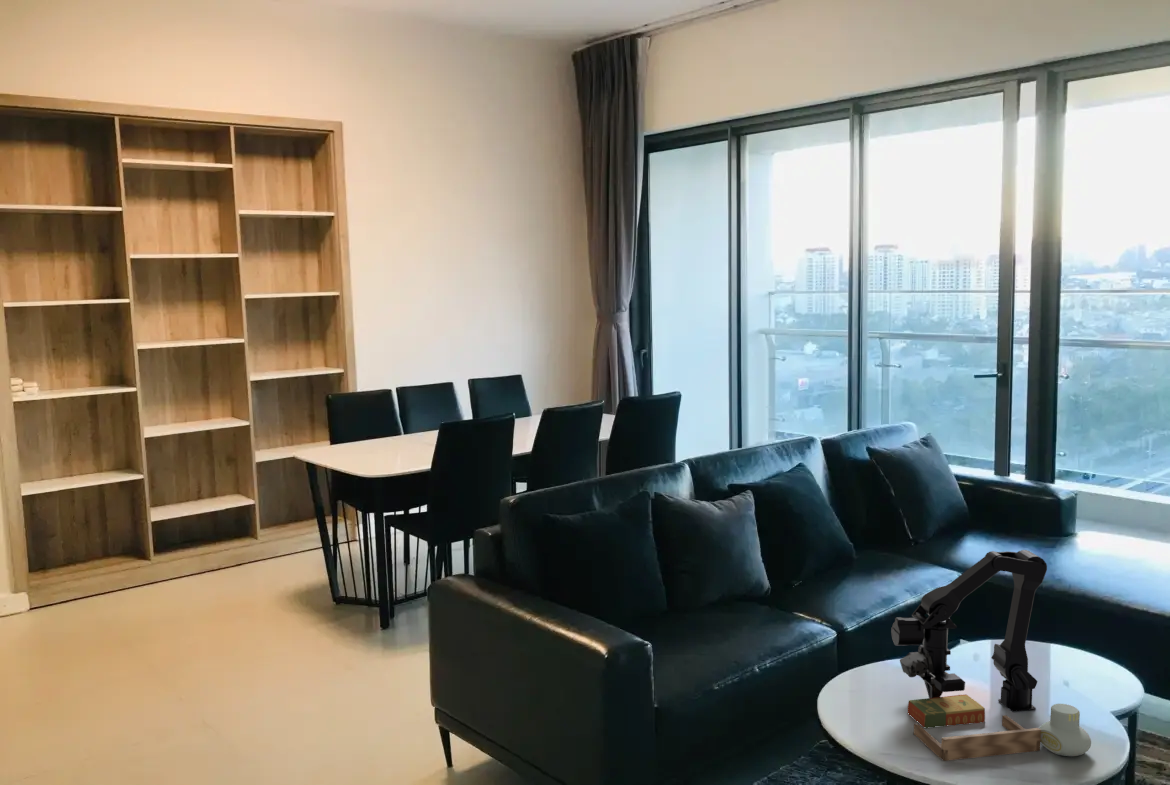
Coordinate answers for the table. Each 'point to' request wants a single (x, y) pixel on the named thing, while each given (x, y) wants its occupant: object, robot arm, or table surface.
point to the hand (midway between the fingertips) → (933, 703)
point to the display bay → (983, 742)
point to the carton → (946, 711)
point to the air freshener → (1065, 732)
